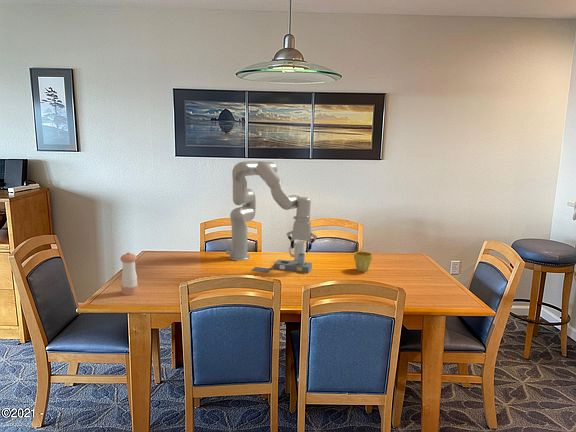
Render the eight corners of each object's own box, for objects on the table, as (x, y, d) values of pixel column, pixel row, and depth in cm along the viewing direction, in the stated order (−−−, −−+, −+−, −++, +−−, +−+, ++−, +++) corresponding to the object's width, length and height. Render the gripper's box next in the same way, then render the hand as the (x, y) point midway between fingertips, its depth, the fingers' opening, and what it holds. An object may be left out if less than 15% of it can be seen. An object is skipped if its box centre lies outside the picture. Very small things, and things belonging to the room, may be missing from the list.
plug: (297, 270, 235) (298, 254, 234) (299, 269, 238) (299, 252, 237) (303, 271, 234) (303, 254, 233) (304, 269, 238) (305, 253, 236)
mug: (304, 260, 257) (305, 241, 255) (305, 263, 251) (305, 243, 249) (288, 259, 258) (289, 240, 256) (288, 262, 251) (288, 243, 249)
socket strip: (273, 269, 236) (273, 263, 235) (278, 265, 245) (278, 259, 244) (308, 273, 231) (308, 267, 230) (311, 268, 240) (311, 262, 239)
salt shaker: (135, 295, 192) (134, 254, 188) (119, 295, 191) (117, 254, 188) (140, 289, 199) (138, 250, 196) (124, 289, 198) (122, 250, 195)
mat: (250, 271, 232) (250, 270, 231) (255, 267, 239) (255, 266, 239) (267, 273, 229) (267, 272, 229) (272, 269, 237) (272, 268, 236)
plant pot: (373, 269, 242) (374, 252, 240) (368, 273, 233) (369, 256, 231) (356, 266, 247) (357, 250, 245) (350, 270, 238) (351, 254, 236)
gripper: (285, 218, 230) (284, 248, 234) (316, 222, 226) (314, 252, 229) (289, 216, 238) (287, 245, 241) (319, 219, 233) (317, 249, 236)
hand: (300, 249), depth 235 cm, fingers open, 9 cm apart
